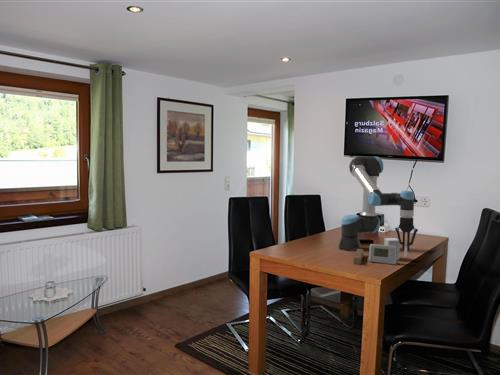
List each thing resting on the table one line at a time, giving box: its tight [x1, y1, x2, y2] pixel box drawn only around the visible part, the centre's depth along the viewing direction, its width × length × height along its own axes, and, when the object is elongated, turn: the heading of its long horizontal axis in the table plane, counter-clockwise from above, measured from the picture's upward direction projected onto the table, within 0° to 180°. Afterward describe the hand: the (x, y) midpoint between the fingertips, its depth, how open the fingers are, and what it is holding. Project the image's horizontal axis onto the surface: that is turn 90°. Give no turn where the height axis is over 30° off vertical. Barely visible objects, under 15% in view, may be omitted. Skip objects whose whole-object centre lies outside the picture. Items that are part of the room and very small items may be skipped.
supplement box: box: [383, 237, 401, 261], centre depth 251 cm, size 7×7×13 cm
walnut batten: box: [353, 248, 364, 266], centre depth 248 cm, size 24×4×4 cm, turn 160°
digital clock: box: [368, 243, 398, 265], centre depth 241 cm, size 16×9×11 cm, turn 56°
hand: (405, 256), depth 236 cm, fingers closed
